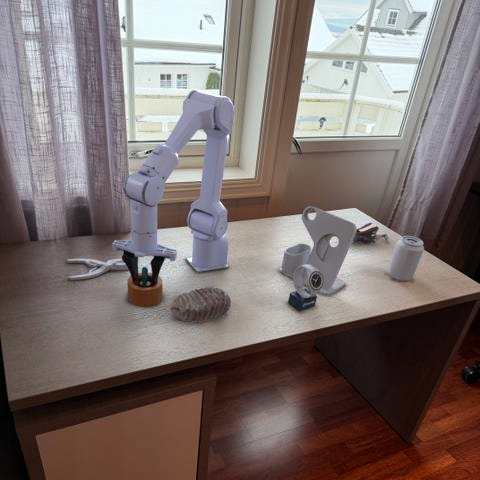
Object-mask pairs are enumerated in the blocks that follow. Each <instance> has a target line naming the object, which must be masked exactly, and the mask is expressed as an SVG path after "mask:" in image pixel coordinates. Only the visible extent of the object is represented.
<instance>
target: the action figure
mask: <svg viewBox="0 0 480 480" xmlns="http://www.w3.org/2000/svg"><path fill="white" fill-rule="evenodd" d="M372 224H373V222H368V223H366V224H364V225H362V226H361V227H358V228H357V232H356V234H355V236H354V239H353V241H352V243H357V242H363V243H365V244H368V243H369V244H370V243H371V244H375V243H377V241H376V240H378V239H381V238H384V240H385V241H386V243H388V242H389V241H390V240H389V236H388V233H383V234H378V232H379V230H380V228H379V226H378V225H376V226H373V227H370V226H371V225H372ZM369 227H370V228H369ZM366 228H368V229H366ZM363 229H365V230H363ZM360 230H361V231H360Z"/></svg>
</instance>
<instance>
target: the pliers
mask: <svg viewBox="0 0 480 480" xmlns="http://www.w3.org/2000/svg"><path fill="white" fill-rule="evenodd" d="M66 260H67V264H86V265H87V266H89V267H91V269H90V270H89V271H88V272H87V273H83V274H77V275H69V276H68V279H69V280H70V281H79V280H87V279H92V278H95V277H98V276H100V275H102V274H104V273H107V272H108V271H124V270H125V271H126V270H127V271H129V269H128V267H127V266H126V264H125V263H124V261H123V260H122V258H112V259H107V262H106V261H101V260H99V259H93V258H84V257H83V258H71V259H70V258H69V259H66ZM98 267H100V268H98Z"/></svg>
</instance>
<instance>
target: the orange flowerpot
mask: <svg viewBox="0 0 480 480" xmlns="http://www.w3.org/2000/svg"><path fill="white" fill-rule="evenodd" d="M141 281H142V272H138V279H137V280H136V282H133V280H132V277H131V275H130V276H129V277H128V278H127V281H126V282H127V283H126V284H127V285H126V286H127V299H128V301H129V302H130V303H131V304H132V305H134V306H138V307H152V306H156V305H158V304H159V303H161V301H162V300H163V287H164V286H163V278H161V276H158V281H157V283H156V285H152V272H148V281H149V282H150V283H151V287H148V288H143V287H140V282H141Z"/></svg>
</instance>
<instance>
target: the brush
mask: <svg viewBox="0 0 480 480" xmlns="http://www.w3.org/2000/svg"><path fill="white" fill-rule="evenodd" d="M141 273H142V281H141V282H140V287H143V288H148V287H151V283H150V282H149V281H148V273H149V268H148V267H147V266H142V268H141Z"/></svg>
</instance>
